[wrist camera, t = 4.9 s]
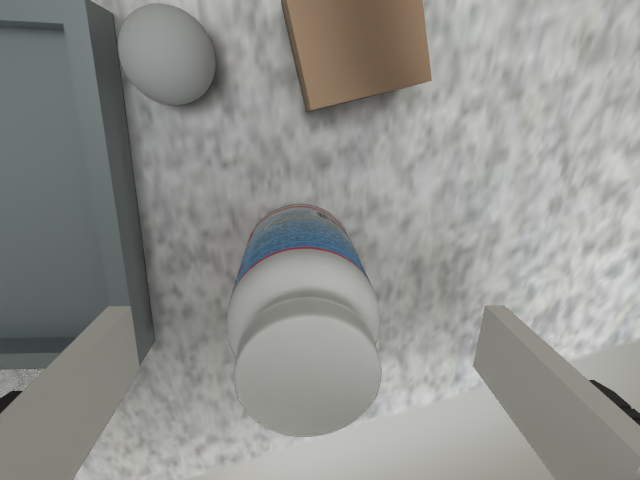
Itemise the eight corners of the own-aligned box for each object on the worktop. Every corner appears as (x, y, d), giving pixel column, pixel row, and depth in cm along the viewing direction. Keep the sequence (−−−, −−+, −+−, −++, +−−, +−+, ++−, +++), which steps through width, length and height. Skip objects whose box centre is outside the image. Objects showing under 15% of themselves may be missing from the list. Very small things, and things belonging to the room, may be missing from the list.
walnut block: (305, 112, 19) (311, 110, 15) (281, 6, 18) (278, -35, 13) (397, 89, 19) (431, 80, 15) (381, -19, 18) (414, -69, 13)
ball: (144, 104, 18) (107, 101, 15) (134, 14, 17) (91, -14, 13) (224, 107, 19) (208, 105, 15) (220, 20, 18) (201, -7, 14)
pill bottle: (229, 229, 21) (166, 344, 10) (325, 185, 21) (362, 257, 10) (276, 312, 23) (263, 480, 12) (364, 273, 23) (430, 412, 12)
